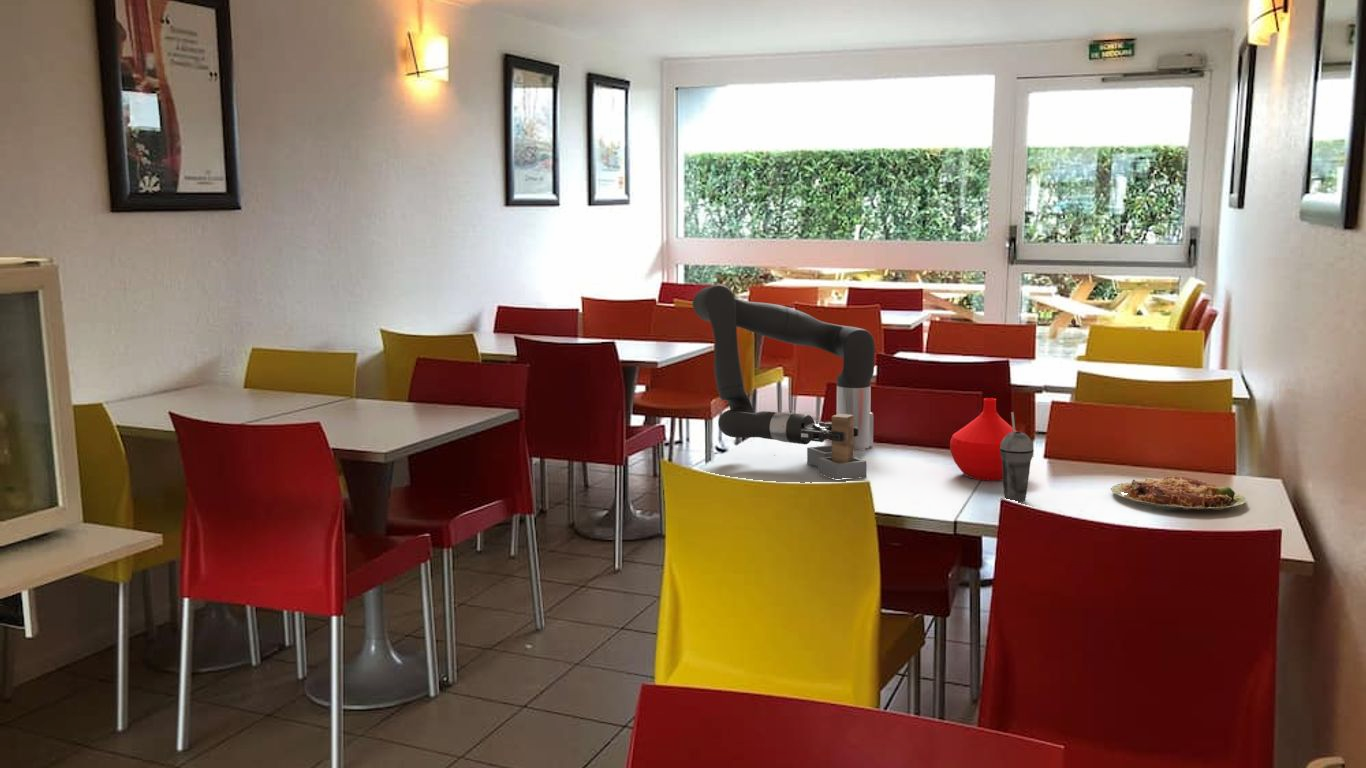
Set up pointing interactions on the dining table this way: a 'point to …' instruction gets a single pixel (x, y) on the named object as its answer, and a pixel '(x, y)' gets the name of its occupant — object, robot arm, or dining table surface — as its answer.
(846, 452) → the brown wooden tall block
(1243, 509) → the dining table surface
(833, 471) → the end cap near
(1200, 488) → the rice dish
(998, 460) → the vase
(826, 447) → the end cap far
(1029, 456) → the beverage cup
